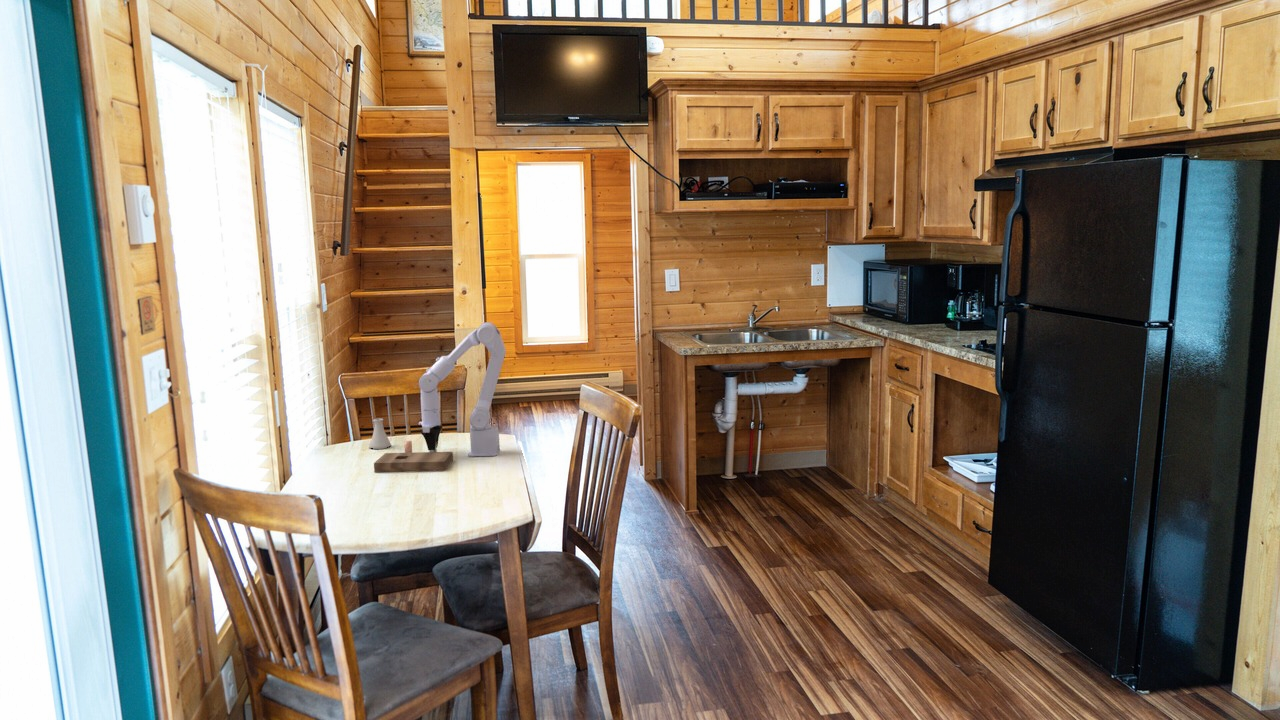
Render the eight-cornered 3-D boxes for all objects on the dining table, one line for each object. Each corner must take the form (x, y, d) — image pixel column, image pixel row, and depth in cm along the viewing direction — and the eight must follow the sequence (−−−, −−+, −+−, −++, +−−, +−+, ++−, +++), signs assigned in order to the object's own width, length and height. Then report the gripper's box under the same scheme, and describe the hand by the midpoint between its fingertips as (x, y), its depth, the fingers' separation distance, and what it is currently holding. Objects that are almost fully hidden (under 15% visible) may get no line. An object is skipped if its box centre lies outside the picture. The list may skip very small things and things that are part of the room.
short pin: (413, 453, 283) (412, 440, 283) (411, 455, 281) (410, 442, 280) (406, 453, 283) (405, 440, 283) (404, 455, 281) (403, 442, 280)
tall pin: (437, 453, 280) (436, 430, 279) (435, 455, 278) (434, 431, 277) (430, 453, 280) (429, 430, 279) (428, 455, 278) (427, 432, 277)
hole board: (453, 460, 273) (452, 451, 273) (444, 470, 261) (444, 461, 261) (385, 462, 273) (385, 453, 273) (374, 472, 261) (373, 463, 261)
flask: (365, 449, 291) (363, 421, 289) (377, 444, 297) (375, 416, 296) (383, 450, 289) (381, 422, 287) (395, 445, 295) (393, 417, 294)
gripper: (423, 404, 284) (426, 443, 286) (412, 413, 270) (415, 454, 272) (444, 404, 284) (446, 443, 286) (434, 413, 270) (436, 454, 272)
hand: (432, 448), depth 279 cm, fingers closed on tall pin, 2 cm apart
